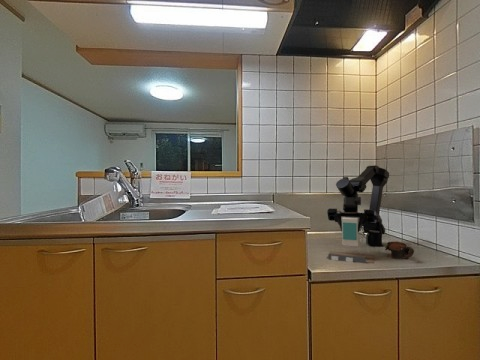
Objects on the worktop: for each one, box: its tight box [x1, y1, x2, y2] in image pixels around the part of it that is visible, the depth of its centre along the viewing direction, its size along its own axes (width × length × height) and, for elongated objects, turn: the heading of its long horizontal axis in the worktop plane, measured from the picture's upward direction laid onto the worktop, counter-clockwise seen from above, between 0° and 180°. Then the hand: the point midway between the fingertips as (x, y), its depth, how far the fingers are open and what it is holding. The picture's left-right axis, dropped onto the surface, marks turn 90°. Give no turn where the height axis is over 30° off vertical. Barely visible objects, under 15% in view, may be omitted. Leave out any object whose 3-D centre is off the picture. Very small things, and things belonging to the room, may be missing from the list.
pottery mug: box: [385, 241, 415, 260], centre depth 119 cm, size 12×10×8 cm
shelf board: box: [326, 250, 375, 264], centre depth 119 cm, size 12×18×1 cm
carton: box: [341, 217, 359, 247], centre depth 118 cm, size 4×6×11 cm
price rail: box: [327, 253, 367, 264], centre depth 114 cm, size 1×14×3 cm, turn 65°
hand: (349, 231), depth 117 cm, fingers closed on carton, 6 cm apart
